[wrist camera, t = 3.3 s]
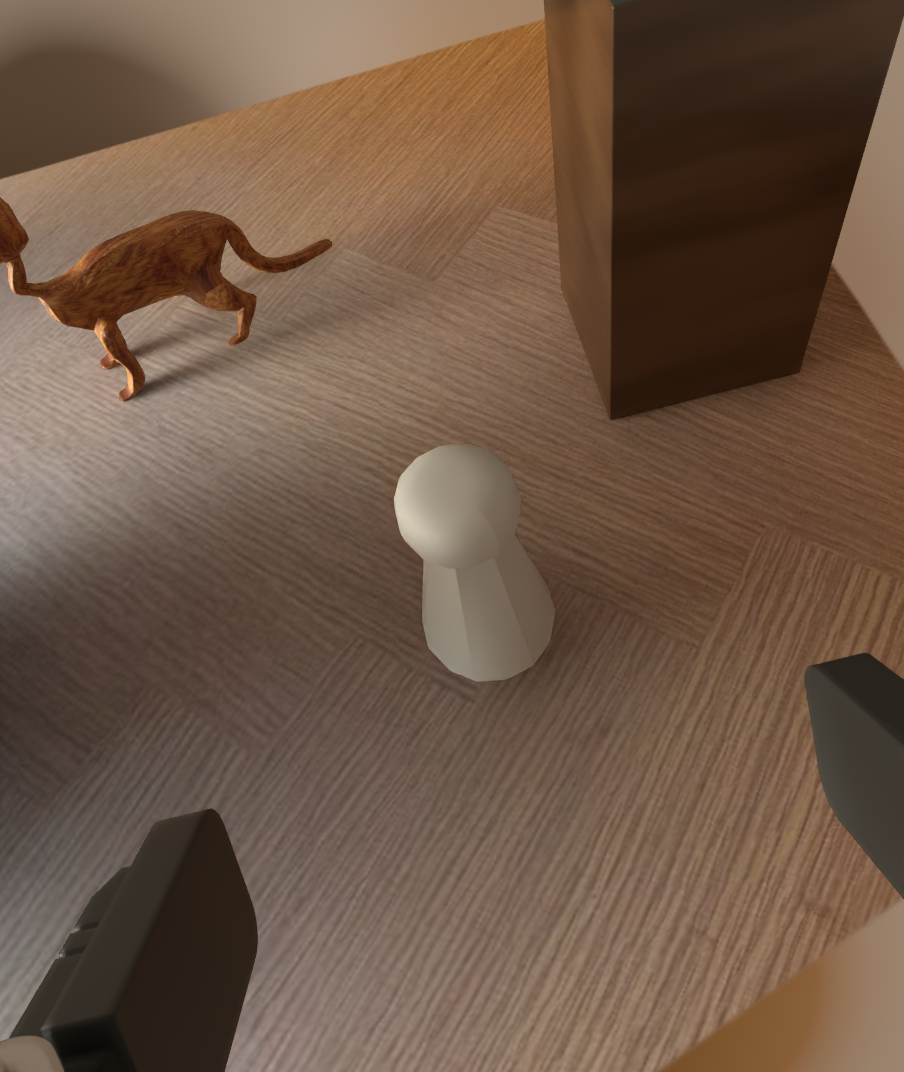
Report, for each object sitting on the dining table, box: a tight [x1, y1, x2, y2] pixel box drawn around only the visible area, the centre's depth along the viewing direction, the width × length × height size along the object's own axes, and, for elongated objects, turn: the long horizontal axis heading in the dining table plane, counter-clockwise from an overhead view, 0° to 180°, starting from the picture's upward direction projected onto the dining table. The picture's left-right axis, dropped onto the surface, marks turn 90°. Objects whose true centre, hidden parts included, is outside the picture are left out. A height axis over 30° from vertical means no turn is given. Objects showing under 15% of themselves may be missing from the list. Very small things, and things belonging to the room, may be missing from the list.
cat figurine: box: [0, 198, 332, 401], centre depth 47 cm, size 18×7×14 cm, turn 122°
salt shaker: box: [394, 443, 556, 682], centre depth 34 cm, size 6×6×13 cm
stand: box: [544, 0, 904, 420], centre depth 38 cm, size 10×10×21 cm
